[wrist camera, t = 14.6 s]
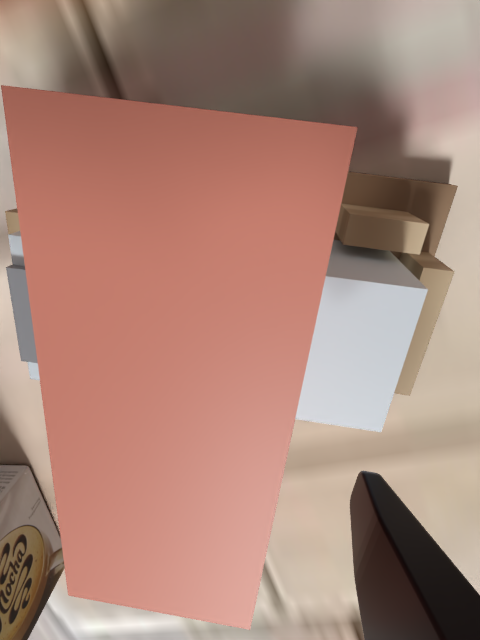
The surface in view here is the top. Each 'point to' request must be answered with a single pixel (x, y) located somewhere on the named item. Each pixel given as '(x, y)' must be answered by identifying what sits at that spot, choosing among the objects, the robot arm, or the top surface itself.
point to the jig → (392, 241)
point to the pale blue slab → (319, 334)
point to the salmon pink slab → (171, 332)
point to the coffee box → (25, 553)
